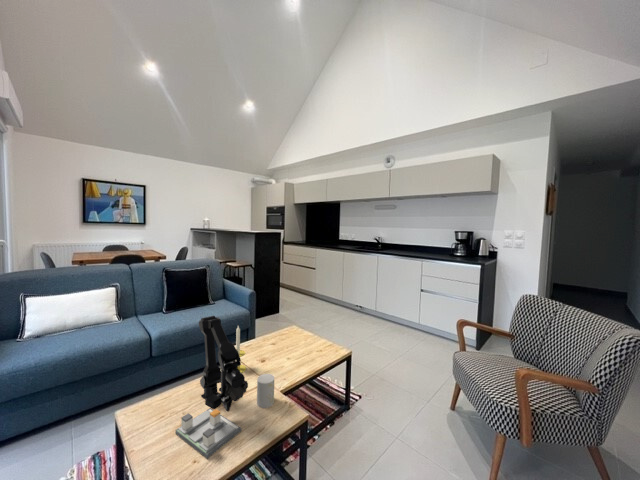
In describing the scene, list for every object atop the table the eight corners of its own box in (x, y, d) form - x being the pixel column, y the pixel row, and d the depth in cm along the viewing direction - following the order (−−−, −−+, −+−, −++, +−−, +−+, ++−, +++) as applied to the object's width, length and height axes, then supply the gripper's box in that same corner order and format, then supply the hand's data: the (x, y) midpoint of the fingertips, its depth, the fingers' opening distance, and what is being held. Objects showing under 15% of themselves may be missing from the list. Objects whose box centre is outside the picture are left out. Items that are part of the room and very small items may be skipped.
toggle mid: (209, 422, 112) (209, 413, 112) (215, 418, 115) (215, 409, 114) (214, 425, 111) (214, 416, 110) (220, 421, 113) (220, 411, 113)
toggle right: (202, 443, 101) (202, 432, 101) (209, 438, 104) (209, 427, 104) (207, 446, 100) (207, 436, 100) (214, 441, 102) (214, 431, 102)
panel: (175, 433, 109) (175, 428, 109) (209, 411, 123) (209, 406, 122) (207, 458, 98) (207, 452, 98) (241, 431, 111) (241, 425, 111)
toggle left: (181, 427, 109) (181, 417, 109) (188, 422, 112) (188, 413, 111) (185, 430, 108) (185, 420, 107) (192, 425, 110) (192, 416, 110)
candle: (239, 363, 165) (239, 320, 164) (250, 368, 159) (250, 324, 158) (225, 370, 157) (225, 325, 155) (236, 376, 151) (236, 329, 150)
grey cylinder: (270, 409, 125) (270, 384, 124) (254, 406, 127) (254, 382, 126) (276, 398, 133) (276, 375, 132) (261, 395, 135) (261, 372, 134)
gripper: (221, 394, 105) (221, 432, 106) (256, 373, 121) (256, 406, 122) (204, 384, 111) (204, 420, 112) (239, 365, 127) (239, 397, 127)
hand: (227, 411), depth 118 cm, fingers closed
